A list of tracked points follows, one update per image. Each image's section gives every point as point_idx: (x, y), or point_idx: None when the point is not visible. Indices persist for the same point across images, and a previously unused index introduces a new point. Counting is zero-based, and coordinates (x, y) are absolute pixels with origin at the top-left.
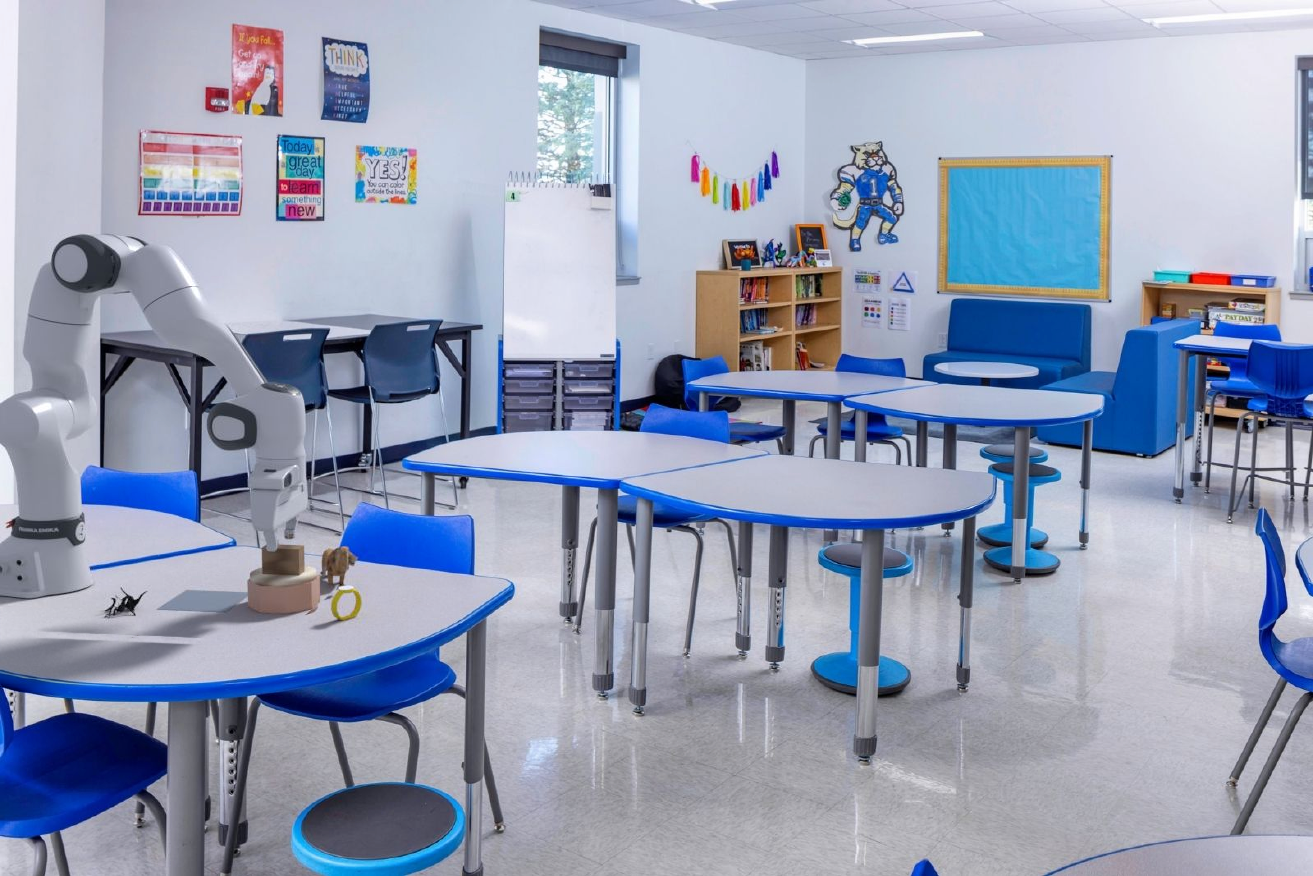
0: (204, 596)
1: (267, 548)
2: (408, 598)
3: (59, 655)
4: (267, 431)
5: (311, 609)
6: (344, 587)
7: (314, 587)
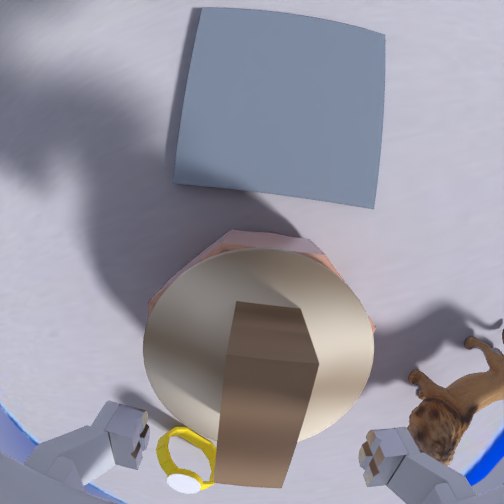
0: (329, 83)
1: (106, 407)
2: (325, 492)
3: (3, 9)
4: None
5: None
6: (185, 482)
7: None
